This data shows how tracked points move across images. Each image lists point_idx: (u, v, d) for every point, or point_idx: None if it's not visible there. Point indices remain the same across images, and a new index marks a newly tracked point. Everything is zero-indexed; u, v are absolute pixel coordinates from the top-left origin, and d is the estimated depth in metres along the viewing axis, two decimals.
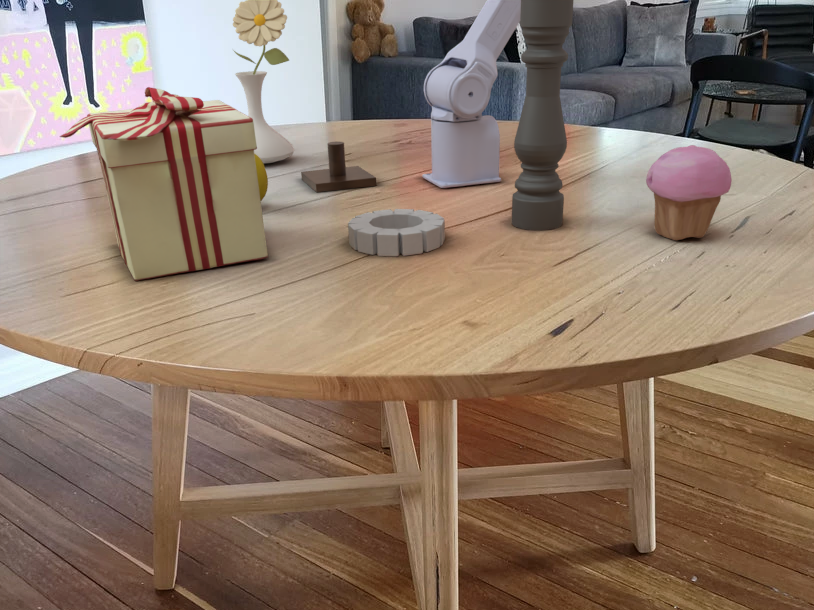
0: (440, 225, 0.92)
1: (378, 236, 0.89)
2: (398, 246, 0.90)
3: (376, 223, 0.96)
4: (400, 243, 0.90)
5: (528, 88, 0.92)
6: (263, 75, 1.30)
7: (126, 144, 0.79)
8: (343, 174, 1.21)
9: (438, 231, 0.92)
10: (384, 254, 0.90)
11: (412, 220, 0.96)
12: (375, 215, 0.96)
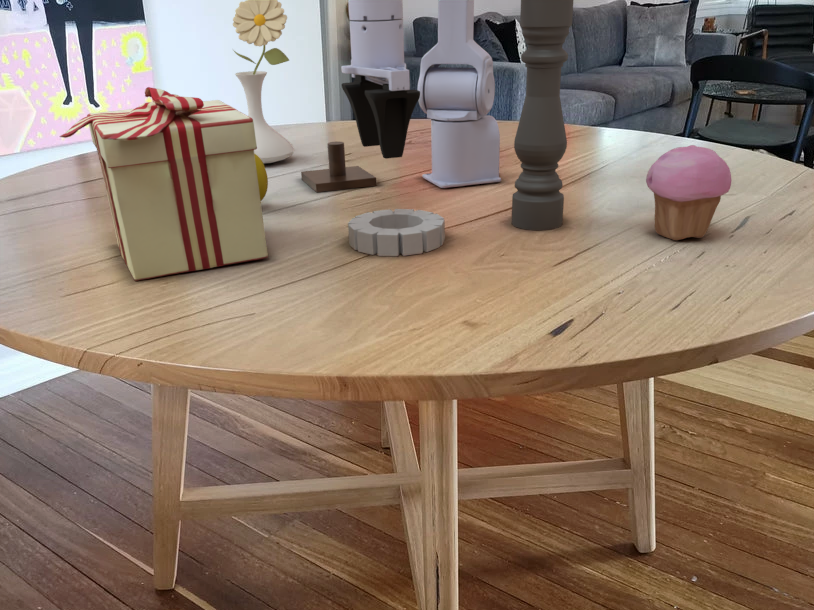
0: (440, 225, 0.92)
1: (378, 236, 0.89)
2: (398, 246, 0.90)
3: (376, 223, 0.96)
4: (400, 243, 0.90)
5: (528, 88, 0.92)
6: (263, 75, 1.30)
7: (126, 144, 0.79)
8: (343, 174, 1.21)
9: (438, 231, 0.92)
10: (384, 254, 0.90)
11: (412, 220, 0.96)
12: (375, 215, 0.96)
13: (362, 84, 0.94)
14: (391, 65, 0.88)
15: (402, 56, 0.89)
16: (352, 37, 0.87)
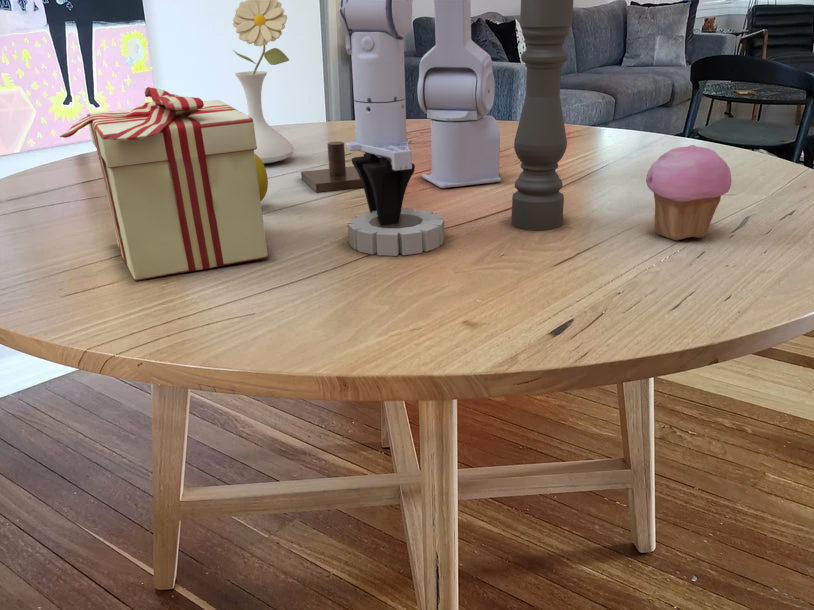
0: (440, 225, 0.92)
1: (377, 236, 0.89)
2: (398, 246, 0.90)
3: (376, 223, 0.96)
4: (400, 243, 0.90)
5: (528, 88, 0.92)
6: (263, 75, 1.30)
7: (126, 144, 0.79)
8: (343, 174, 1.21)
9: (438, 231, 0.92)
10: (384, 254, 0.90)
11: (412, 220, 0.96)
12: (375, 215, 0.96)
13: (372, 160, 0.96)
14: (394, 143, 0.91)
15: (404, 133, 0.92)
16: (356, 116, 0.91)
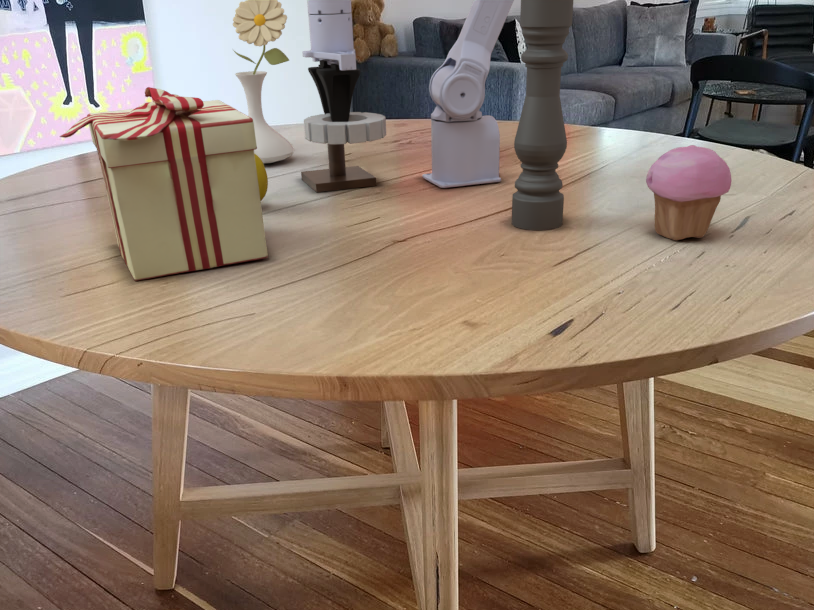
0: (381, 120, 1.09)
1: (328, 127, 1.07)
2: (345, 135, 1.07)
3: (328, 122, 1.13)
4: (347, 133, 1.07)
5: (528, 88, 0.92)
6: (263, 75, 1.30)
7: (126, 144, 0.79)
8: (343, 174, 1.21)
9: (379, 124, 1.09)
10: (334, 142, 1.07)
11: (359, 119, 1.13)
12: (327, 115, 1.13)
13: (325, 68, 1.13)
14: (342, 50, 1.08)
15: (351, 43, 1.09)
16: (310, 27, 1.08)
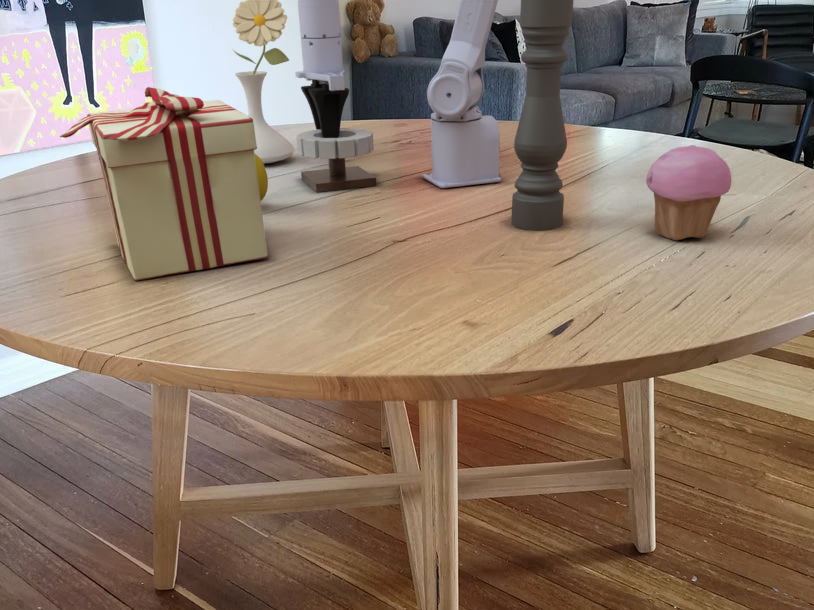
0: (369, 136, 1.17)
1: (319, 143, 1.15)
2: (335, 150, 1.15)
3: (320, 137, 1.21)
4: (337, 148, 1.15)
5: (528, 88, 0.92)
6: (263, 75, 1.30)
7: (126, 144, 0.79)
8: (343, 174, 1.21)
9: (367, 140, 1.17)
10: (324, 157, 1.15)
11: (348, 135, 1.21)
12: (318, 131, 1.21)
13: (316, 87, 1.21)
14: (332, 71, 1.16)
15: (341, 64, 1.17)
16: (302, 50, 1.16)
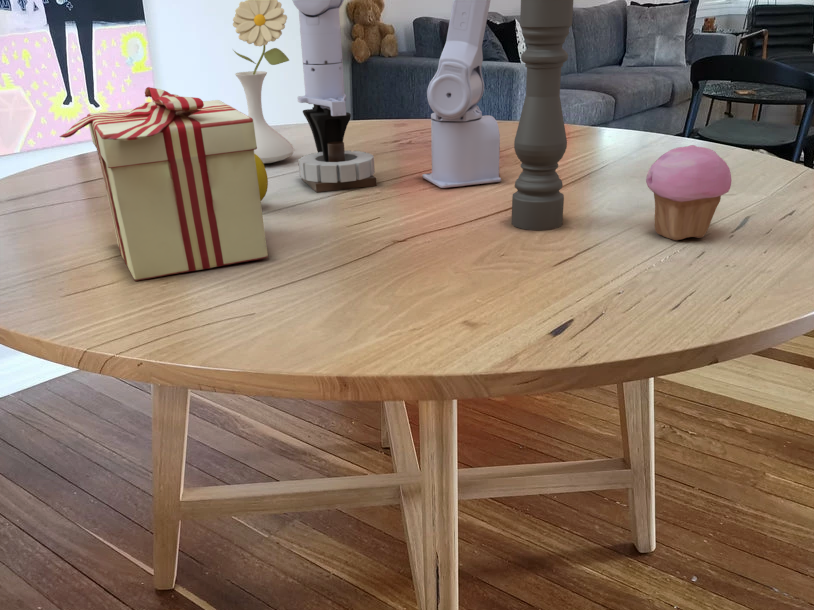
0: (370, 159, 1.19)
1: (321, 167, 1.16)
2: (337, 175, 1.17)
3: (321, 160, 1.23)
4: (338, 172, 1.17)
5: (528, 88, 0.92)
6: (263, 75, 1.30)
7: (126, 144, 0.79)
8: None
9: (368, 164, 1.18)
10: (326, 181, 1.17)
11: (349, 158, 1.23)
12: (320, 154, 1.23)
13: (318, 111, 1.23)
14: (334, 96, 1.18)
15: (342, 89, 1.19)
16: (305, 75, 1.18)
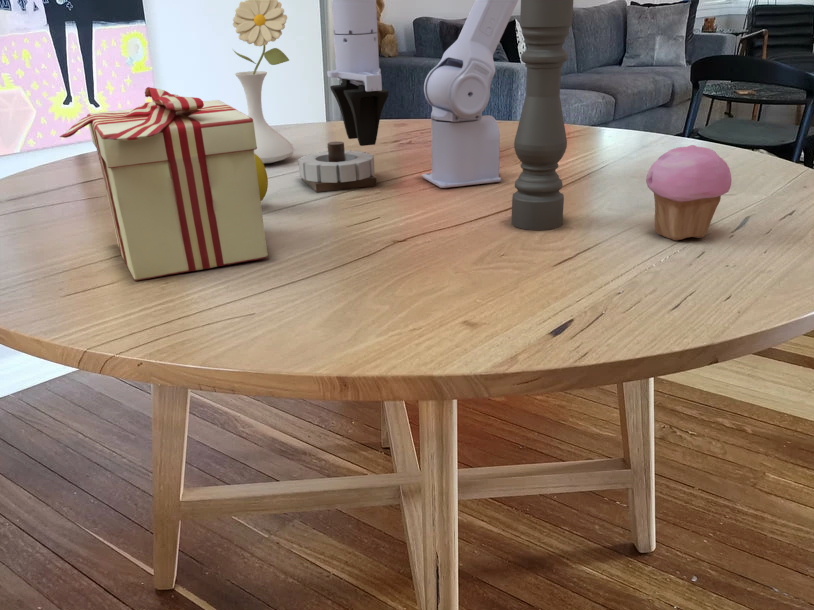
0: (370, 159, 1.19)
1: (321, 167, 1.16)
2: (337, 175, 1.17)
3: (321, 160, 1.23)
4: (338, 172, 1.17)
5: (528, 88, 0.92)
6: (263, 75, 1.30)
7: (126, 144, 0.79)
8: None
9: (368, 164, 1.18)
10: (326, 181, 1.17)
11: (349, 158, 1.23)
12: (320, 154, 1.23)
13: (347, 86, 1.12)
14: (367, 70, 1.07)
15: (377, 63, 1.08)
16: (336, 47, 1.07)
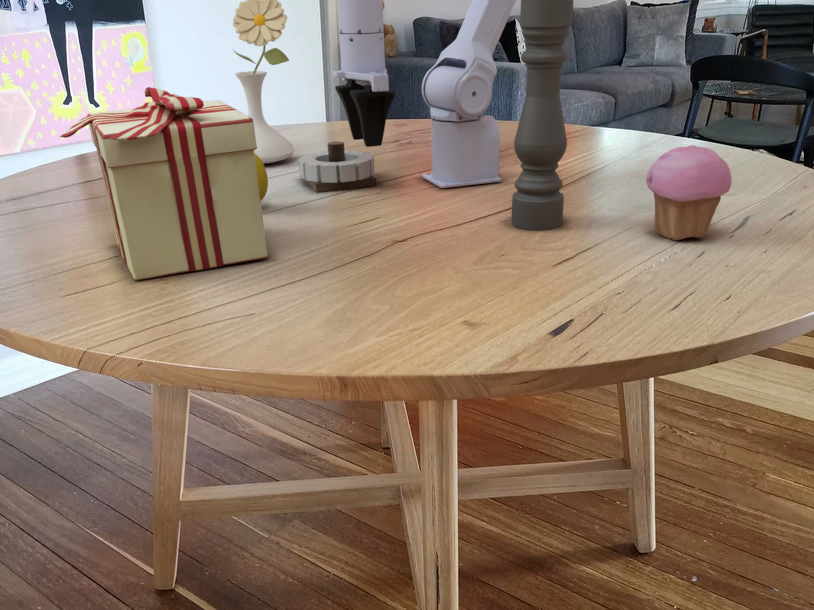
0: (370, 159, 1.19)
1: (321, 167, 1.16)
2: (337, 175, 1.17)
3: (321, 160, 1.23)
4: (338, 172, 1.17)
5: (528, 88, 0.92)
6: (263, 75, 1.30)
7: (126, 144, 0.79)
8: None
9: (368, 164, 1.18)
10: (326, 181, 1.17)
11: (349, 158, 1.23)
12: (320, 154, 1.23)
13: (352, 87, 1.11)
14: (374, 70, 1.05)
15: (383, 63, 1.06)
16: (341, 47, 1.05)
